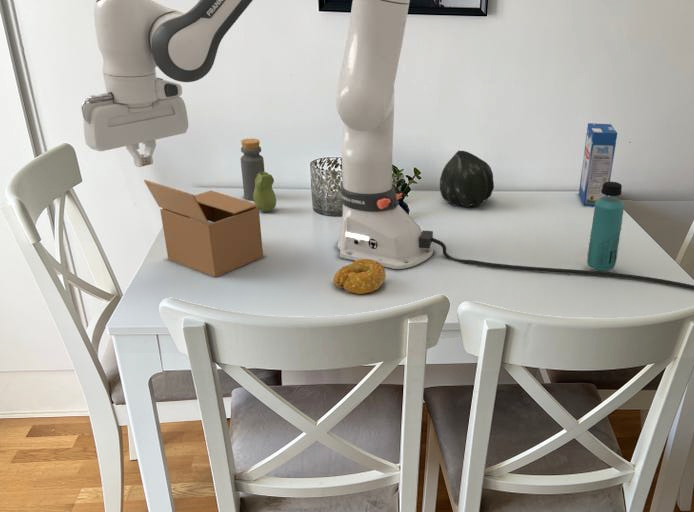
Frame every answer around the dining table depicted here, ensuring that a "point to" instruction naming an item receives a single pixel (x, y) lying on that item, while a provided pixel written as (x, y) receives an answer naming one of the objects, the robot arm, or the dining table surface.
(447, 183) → the squash
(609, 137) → the milk carton
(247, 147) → the bottle
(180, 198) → the flap
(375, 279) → the bagel
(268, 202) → the pear
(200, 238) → the carton
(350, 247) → the robot arm
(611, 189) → the beverage bottle
